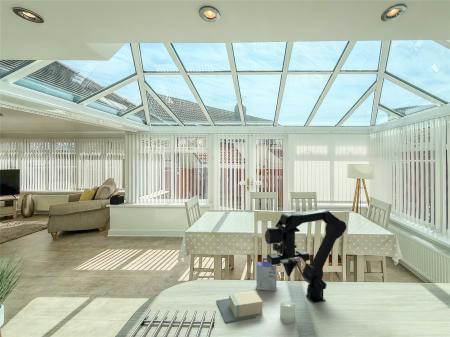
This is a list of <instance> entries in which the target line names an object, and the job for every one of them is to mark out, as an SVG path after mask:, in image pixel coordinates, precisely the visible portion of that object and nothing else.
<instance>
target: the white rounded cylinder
mask: <svg viewBox="0 0 450 337" xmlns="http://www.w3.org/2000/svg"><path fill="white" fill-rule="evenodd" d="M279 320H280V322H282V324H285V325H293V324H294V323H295V322H296V304H295V303H294V302H293V301H289V300H283V301H281V302H280V303H279Z"/></svg>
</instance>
